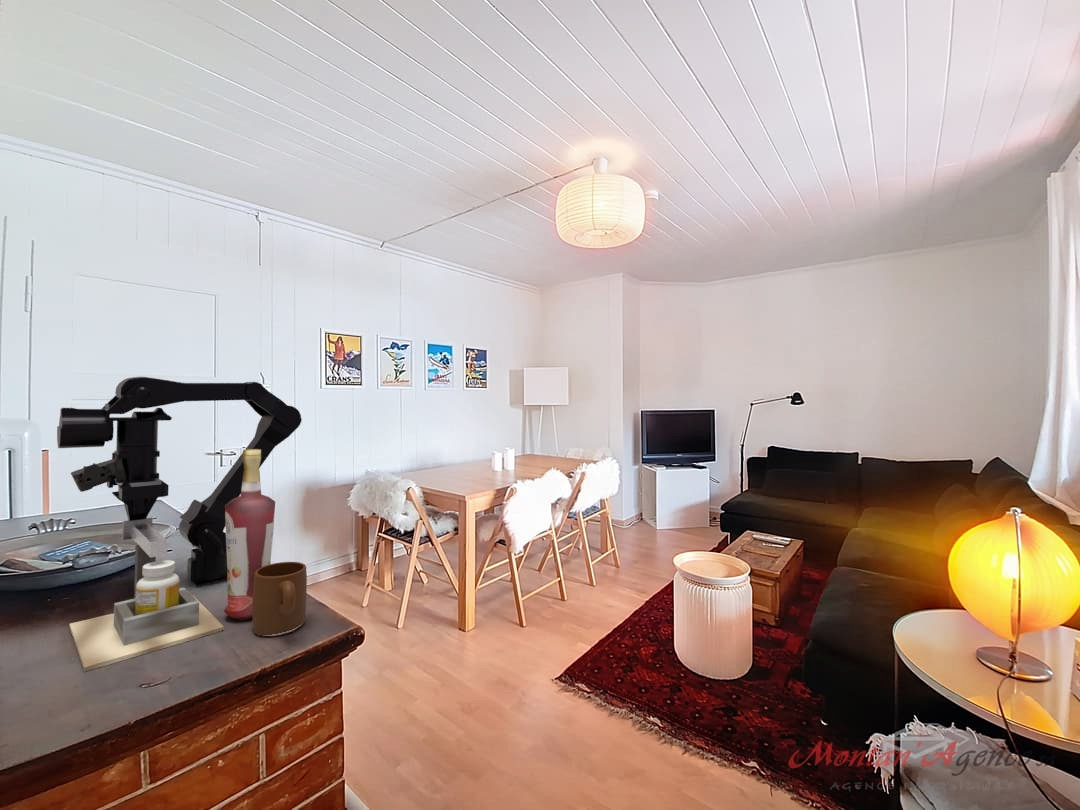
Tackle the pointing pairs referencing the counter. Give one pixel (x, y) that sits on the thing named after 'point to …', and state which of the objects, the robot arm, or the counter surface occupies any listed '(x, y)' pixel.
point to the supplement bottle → (157, 587)
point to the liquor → (247, 537)
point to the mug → (279, 597)
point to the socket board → (140, 627)
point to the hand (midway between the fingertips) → (135, 530)
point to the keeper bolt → (145, 536)
